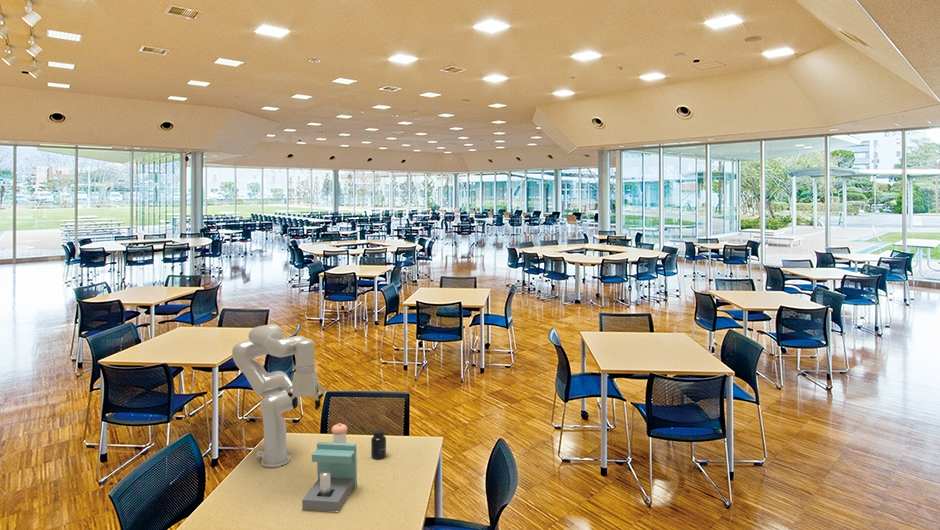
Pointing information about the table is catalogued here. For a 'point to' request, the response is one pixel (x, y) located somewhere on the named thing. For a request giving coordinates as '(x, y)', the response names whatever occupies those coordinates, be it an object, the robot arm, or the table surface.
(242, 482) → the table surface
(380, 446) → the supplement bottle
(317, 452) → the socket stand
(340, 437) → the salt shaker
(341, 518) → the table surface
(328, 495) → the peg
